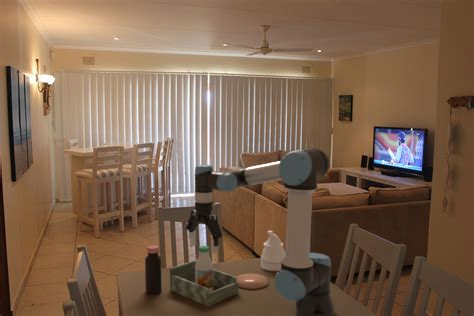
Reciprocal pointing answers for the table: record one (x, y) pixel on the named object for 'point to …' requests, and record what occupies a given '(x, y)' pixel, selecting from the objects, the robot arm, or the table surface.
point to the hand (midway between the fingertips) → (203, 249)
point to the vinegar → (153, 270)
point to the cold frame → (186, 286)
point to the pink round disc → (252, 281)
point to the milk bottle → (204, 269)
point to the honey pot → (272, 253)
